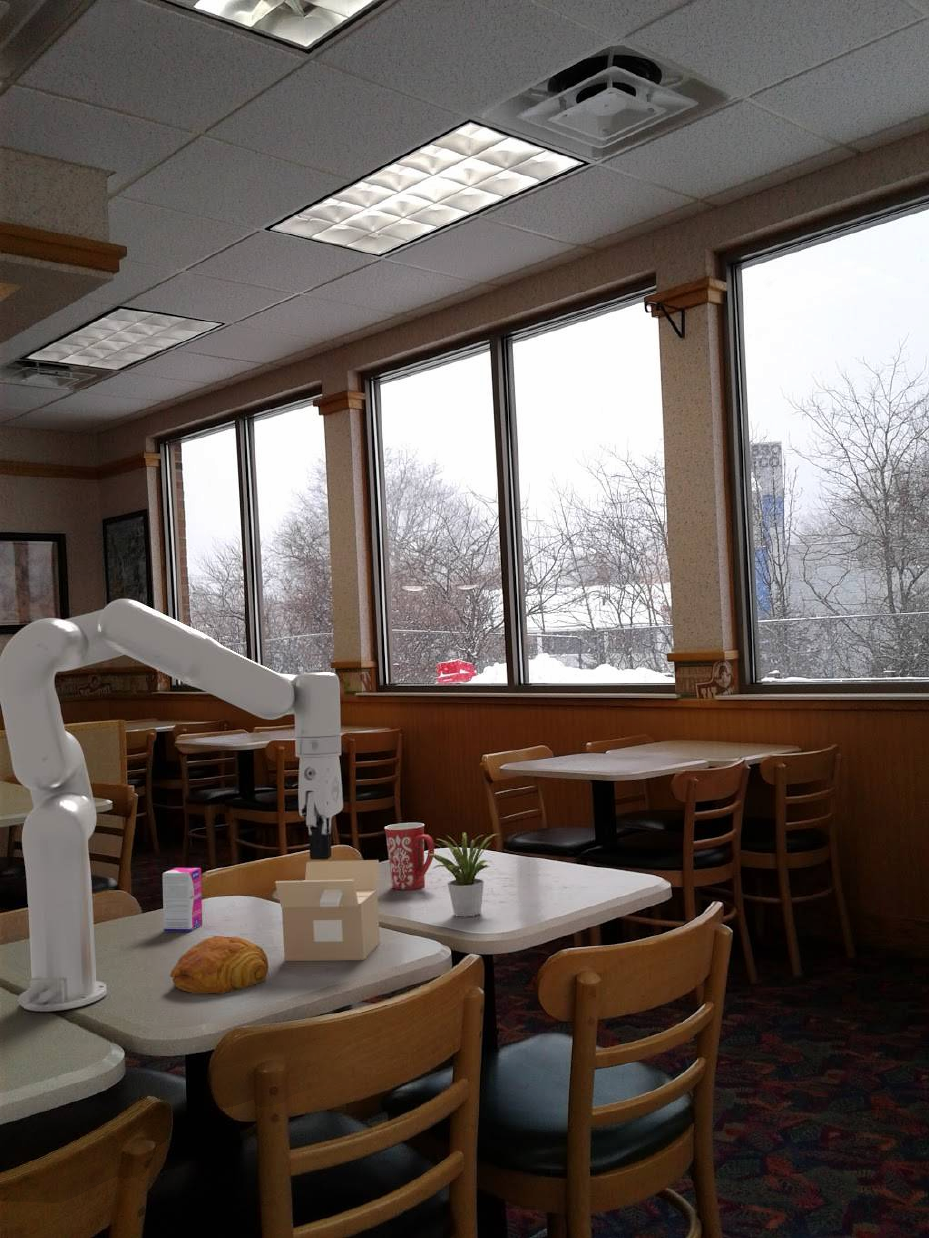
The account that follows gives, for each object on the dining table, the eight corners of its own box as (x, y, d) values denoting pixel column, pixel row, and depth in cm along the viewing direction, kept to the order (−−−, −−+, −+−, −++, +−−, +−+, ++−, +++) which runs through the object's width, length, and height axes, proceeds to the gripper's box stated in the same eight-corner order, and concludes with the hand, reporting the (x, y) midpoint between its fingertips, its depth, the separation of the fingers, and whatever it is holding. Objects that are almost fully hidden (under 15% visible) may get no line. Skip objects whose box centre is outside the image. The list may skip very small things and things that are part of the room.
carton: (363, 960, 184) (360, 903, 185) (284, 960, 187) (281, 904, 187) (379, 942, 195) (376, 889, 196) (304, 943, 198) (302, 890, 198)
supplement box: (191, 932, 212) (188, 872, 212) (163, 932, 213) (160, 873, 213) (204, 924, 217) (201, 866, 218) (176, 924, 218) (173, 867, 219)
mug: (379, 888, 242) (375, 827, 242) (408, 880, 248) (405, 821, 249) (418, 894, 233) (414, 831, 234) (448, 886, 240) (444, 824, 240)
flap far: (378, 859, 199) (383, 864, 202) (306, 861, 201) (312, 866, 204) (376, 888, 196) (381, 893, 199) (304, 890, 198) (310, 894, 202)
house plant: (482, 900, 224) (477, 820, 225) (521, 911, 212) (516, 827, 213) (422, 912, 216) (417, 830, 217) (459, 925, 205) (454, 837, 205)
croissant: (227, 977, 187) (222, 930, 188) (285, 978, 177) (279, 927, 178) (154, 999, 176) (149, 948, 177) (212, 1000, 166) (206, 946, 167)
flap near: (275, 881, 185) (269, 894, 181) (353, 879, 182) (348, 893, 179) (281, 905, 187) (275, 919, 183) (358, 904, 184) (354, 918, 181)
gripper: (326, 750, 173) (329, 867, 172) (352, 743, 187) (354, 850, 187) (281, 751, 174) (283, 867, 173) (310, 743, 189) (312, 850, 188)
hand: (320, 858), depth 180 cm, fingers closed
